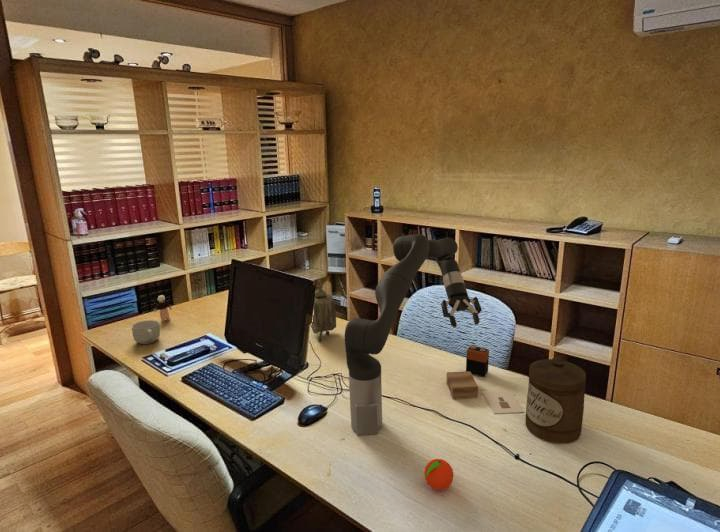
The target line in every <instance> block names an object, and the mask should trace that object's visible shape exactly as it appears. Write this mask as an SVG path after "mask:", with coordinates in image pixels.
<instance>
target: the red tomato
mask: <svg viewBox="0 0 720 532" xmlns="http://www.w3.org/2000/svg"><path fill="white" fill-rule="evenodd" d="M423 474H424V479H425V481H426V483H427V485H428V486H429V487H430V488H432V489H434V490H436V491H443V490H446V489H448V488H449V487H450V486H451V485H452V483H453V480H454V470H453V467H452V466H451V464H450V463H448V462H447V461H446V460H445V459H442V458H435V459H434V458H433V459H432V460H429V462H428V463H427V464H426V466H425V468H424V473H423Z"/></svg>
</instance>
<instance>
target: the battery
mask: <svg viewBox="0 0 720 532" xmlns="http://www.w3.org/2000/svg"><path fill="white" fill-rule="evenodd" d="M465 356H466V359H465V363H466V364H465V372H466V371H470V372H471V374H472V376H478V377H482V378H485V377H486V375H487V374H488V372H489V363H490V362H489V361H490V360H489V359H490V349H489V348H485V347H482V346H481V347H480V346H477V345H476V344H470V346H469V347H468V348H467V349H466V355H465Z"/></svg>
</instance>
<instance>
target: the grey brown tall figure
mask: <svg viewBox="0 0 720 532" xmlns="http://www.w3.org/2000/svg"><path fill="white" fill-rule="evenodd" d="M316 284H317V289H316V290H315V291H314V293H315V302H314V315H313V322H312V325H311V326H310V328H311V330H312V332H313V333H314V334H316V333H319V337H318V338H317V341H318V342H321V341H322V334H323V333H324V332H325V335H328V336H329V335H330V331H333V330H334V329H336V328H337V312H336V302H335V300H334V298H333V297H332V296H331V294H330V293H327V292H326V291H325V290H324V289H322V288H323V286H322V281H321V279H319V278H317V279H316Z"/></svg>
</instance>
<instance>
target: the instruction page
mask: <svg viewBox="0 0 720 532" xmlns="http://www.w3.org/2000/svg"><path fill="white" fill-rule="evenodd" d="M482 394H483V396H484V397H485V399H486V402H487V404H488V405H489V407H490V409H491V411H492V413H493V415H495V414H498V415H499V414H516V413H517V414H518V413H524V410H523V408H522V407H521V405H520V404H519V402H518V401H517V399H516V398H515V396H514V394H513V393H512V391H511V390H498V391H497V390H496V391H483V392H482Z"/></svg>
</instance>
